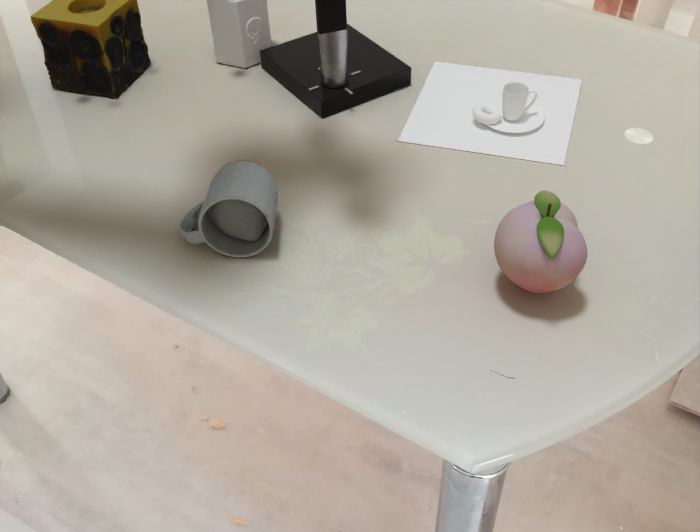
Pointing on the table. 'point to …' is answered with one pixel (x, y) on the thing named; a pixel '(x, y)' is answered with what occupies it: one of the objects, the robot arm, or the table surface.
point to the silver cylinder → (334, 58)
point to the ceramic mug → (235, 211)
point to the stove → (364, 72)
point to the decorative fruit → (540, 245)
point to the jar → (239, 30)
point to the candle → (92, 44)
